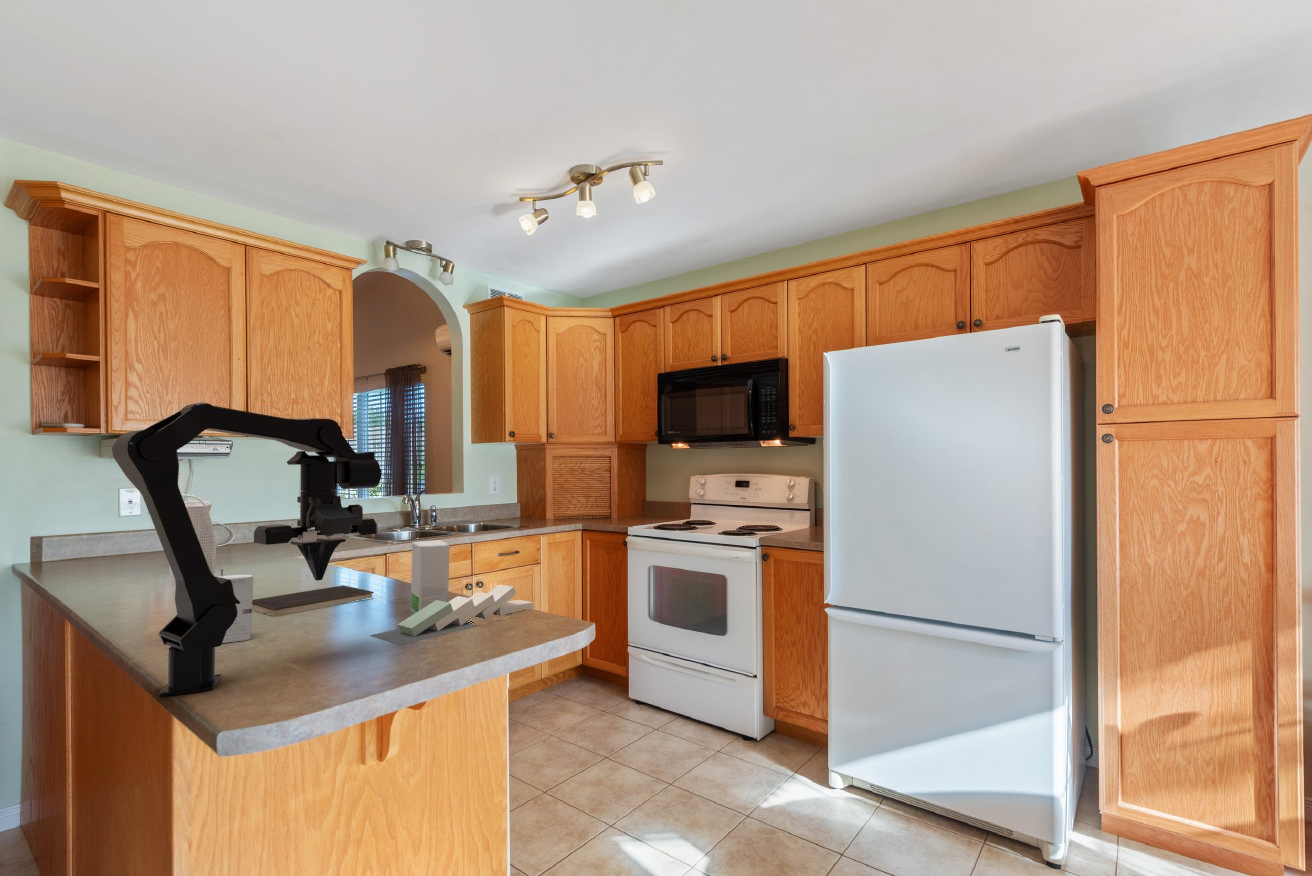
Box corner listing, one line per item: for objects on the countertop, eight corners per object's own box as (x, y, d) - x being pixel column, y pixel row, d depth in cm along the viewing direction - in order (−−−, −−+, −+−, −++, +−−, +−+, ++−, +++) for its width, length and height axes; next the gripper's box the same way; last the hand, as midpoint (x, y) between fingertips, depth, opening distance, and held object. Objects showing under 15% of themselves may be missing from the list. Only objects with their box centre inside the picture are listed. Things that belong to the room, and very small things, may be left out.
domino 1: (411, 628, 122) (450, 603, 128) (397, 624, 125) (436, 599, 132) (414, 636, 122) (453, 610, 129) (400, 632, 125) (439, 607, 132)
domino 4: (482, 611, 134) (513, 586, 141) (468, 608, 137) (499, 584, 144) (485, 619, 135) (516, 593, 141) (471, 615, 138) (502, 591, 144)
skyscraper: (186, 643, 122) (188, 494, 123) (156, 640, 124) (158, 494, 125) (229, 631, 130) (230, 492, 131) (200, 629, 132) (201, 492, 133)
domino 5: (500, 607, 138) (533, 602, 145) (486, 604, 141) (519, 599, 148) (500, 615, 137) (533, 610, 144) (485, 612, 141) (518, 607, 148)
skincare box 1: (213, 645, 120) (214, 579, 120) (214, 639, 124) (214, 576, 124) (252, 639, 123) (253, 575, 124) (252, 634, 127) (252, 572, 128)
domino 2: (435, 622, 126) (472, 598, 132) (421, 619, 129) (457, 595, 135) (438, 630, 126) (474, 606, 133) (424, 627, 129) (460, 603, 136)
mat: (399, 647, 117) (399, 644, 117) (369, 637, 124) (369, 635, 124) (514, 618, 137) (514, 616, 137) (483, 611, 144) (483, 610, 144)
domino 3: (458, 617, 130) (492, 594, 136) (443, 614, 133) (478, 591, 139) (460, 625, 130) (495, 601, 137) (446, 622, 133) (480, 599, 140)
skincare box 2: (410, 611, 146) (410, 541, 146) (440, 607, 149) (440, 539, 150) (419, 618, 139) (419, 545, 139) (450, 614, 142) (450, 542, 143)
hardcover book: (373, 601, 160) (373, 591, 160) (273, 619, 142) (273, 609, 142) (342, 593, 170) (342, 585, 170) (244, 610, 152) (244, 600, 152)
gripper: (279, 494, 101) (279, 594, 100) (392, 488, 115) (393, 576, 115) (252, 492, 108) (252, 586, 107) (362, 488, 122) (362, 571, 122)
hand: (318, 580), depth 113 cm, fingers closed
